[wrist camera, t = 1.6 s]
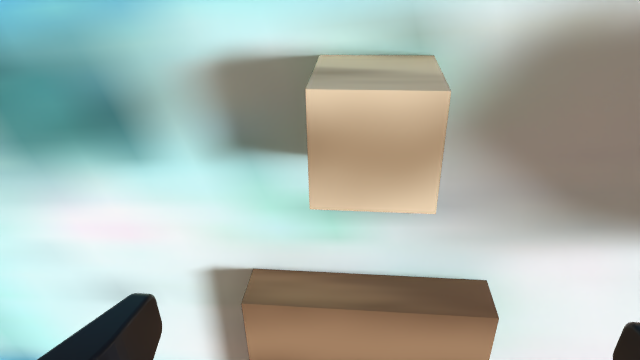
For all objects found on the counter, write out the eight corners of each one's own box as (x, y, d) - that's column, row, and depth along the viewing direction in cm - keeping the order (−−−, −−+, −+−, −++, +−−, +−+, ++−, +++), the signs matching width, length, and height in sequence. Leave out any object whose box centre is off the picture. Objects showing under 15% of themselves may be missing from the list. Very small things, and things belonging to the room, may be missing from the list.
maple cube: (423, 158, 20) (435, 214, 16) (321, 154, 20) (309, 209, 16) (433, 55, 18) (450, 90, 14) (319, 54, 18) (305, 89, 14)
